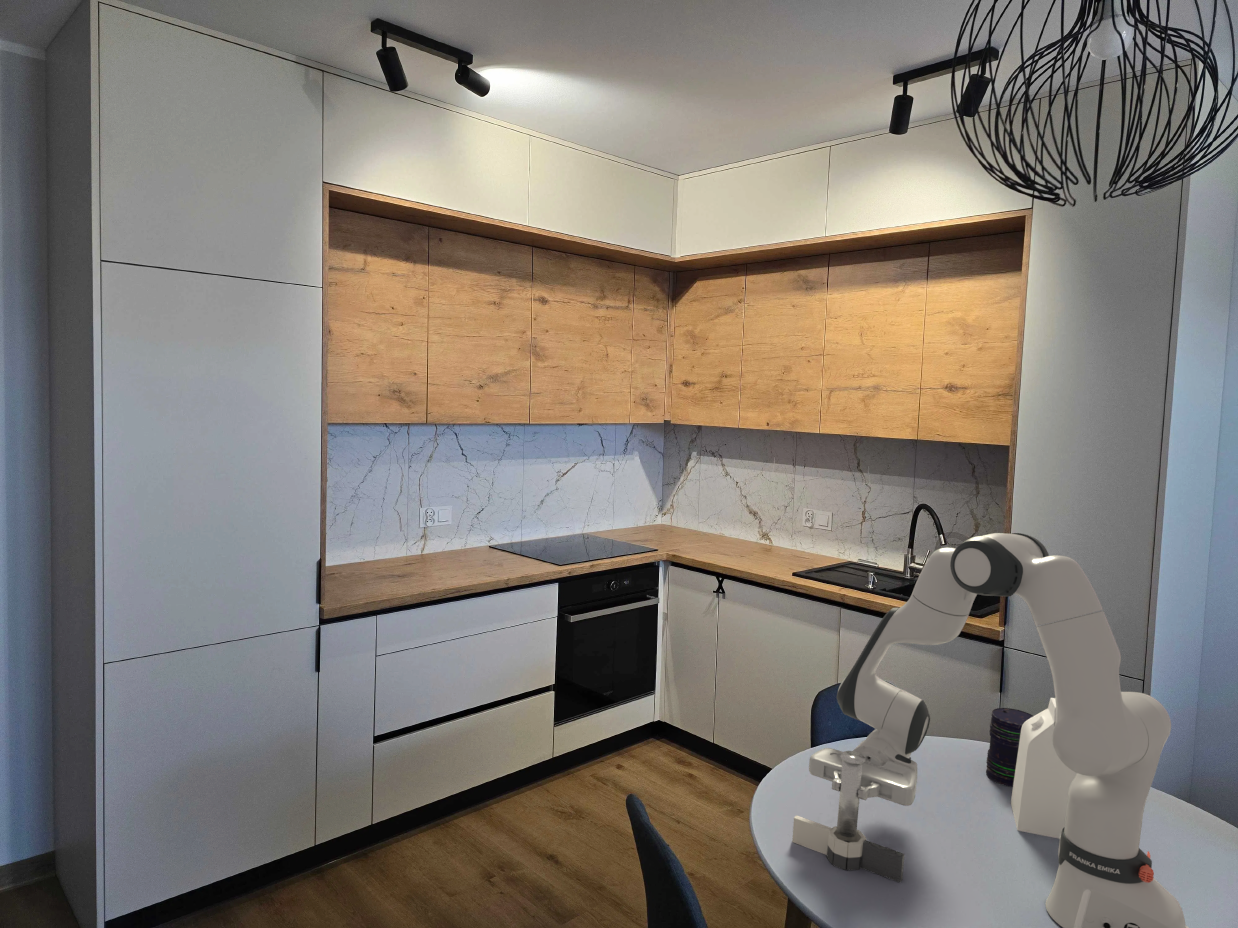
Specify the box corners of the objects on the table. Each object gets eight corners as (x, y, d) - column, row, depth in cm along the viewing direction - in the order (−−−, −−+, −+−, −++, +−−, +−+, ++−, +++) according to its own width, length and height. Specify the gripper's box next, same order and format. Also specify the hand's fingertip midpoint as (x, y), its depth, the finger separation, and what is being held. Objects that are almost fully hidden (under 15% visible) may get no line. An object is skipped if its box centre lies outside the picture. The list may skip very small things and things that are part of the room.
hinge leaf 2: (906, 872, 156) (908, 847, 155) (895, 889, 151) (898, 863, 150) (835, 846, 164) (837, 822, 163) (822, 861, 159) (824, 836, 158)
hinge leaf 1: (867, 858, 160) (869, 833, 160) (856, 874, 155) (858, 848, 154) (799, 833, 168) (801, 809, 167) (786, 847, 163) (788, 822, 162)
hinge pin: (861, 830, 160) (868, 755, 158) (853, 841, 156) (860, 763, 154) (839, 822, 162) (845, 748, 160) (830, 832, 158) (837, 756, 157)
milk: (1079, 842, 169) (1093, 718, 167) (1017, 830, 173) (1029, 708, 170) (1069, 814, 181) (1081, 697, 178) (1010, 802, 184) (1022, 688, 182)
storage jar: (1041, 784, 194) (1048, 722, 192) (1009, 790, 190) (1015, 727, 188) (1007, 765, 203) (1013, 705, 201) (975, 770, 199) (981, 709, 198)
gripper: (824, 734, 174) (797, 757, 163) (925, 765, 162) (904, 792, 151) (822, 763, 175) (795, 788, 164) (922, 796, 163) (901, 825, 152)
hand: (848, 790), depth 157 cm, fingers closed on hinge pin, 4 cm apart
